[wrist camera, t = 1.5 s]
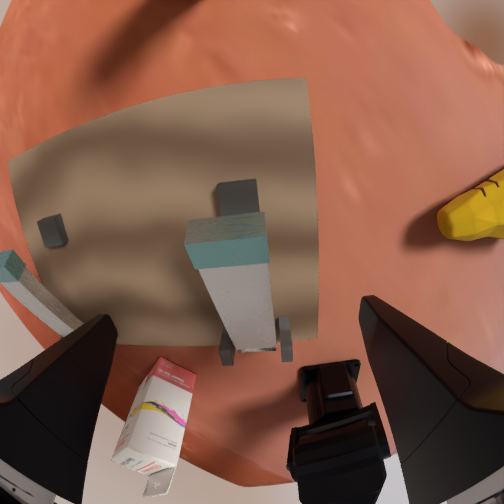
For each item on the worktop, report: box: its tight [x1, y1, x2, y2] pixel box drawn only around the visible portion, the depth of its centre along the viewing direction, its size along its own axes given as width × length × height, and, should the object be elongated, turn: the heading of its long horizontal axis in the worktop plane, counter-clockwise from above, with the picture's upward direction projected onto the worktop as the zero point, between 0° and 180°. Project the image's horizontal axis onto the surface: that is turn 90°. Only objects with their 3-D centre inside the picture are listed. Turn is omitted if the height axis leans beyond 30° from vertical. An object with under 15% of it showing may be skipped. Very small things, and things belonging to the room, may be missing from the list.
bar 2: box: [184, 212, 277, 353], centre depth 16 cm, size 13×3×1 cm, turn 7°
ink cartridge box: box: [111, 357, 197, 497], centre depth 22 cm, size 9×5×15 cm, turn 146°
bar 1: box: [0, 249, 84, 337], centre depth 17 cm, size 13×3×1 cm, turn 6°
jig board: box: [7, 78, 319, 366], centre depth 18 cm, size 20×26×6 cm
